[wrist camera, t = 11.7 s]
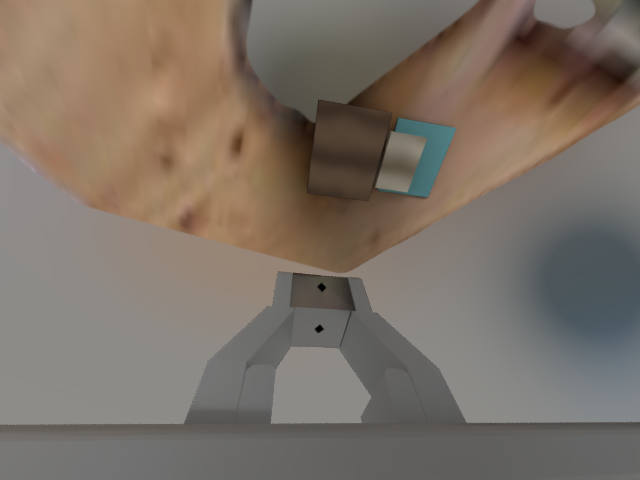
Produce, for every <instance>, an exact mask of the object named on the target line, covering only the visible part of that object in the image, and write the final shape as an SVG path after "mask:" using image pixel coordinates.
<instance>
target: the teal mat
mask: <svg viewBox="0 0 640 480" xmlns="http://www.w3.org/2000/svg"><path fill="white" fill-rule="evenodd" d="M455 130H456V128H453V127H447V126H441V125H436V124H430V123H424V122H419V121H413V120H407V119H402V118H398V120H397V123H396V127H395V130H394V132H399V133H405V134H410V135H416V136H421V137H425V138H427V141H426V143H425V146H424V149H423V151H422V154H421V157H420V160H419V162H418V165H417V168H416V170H415V173H414V176H413V179H412V181H411V184H410V187H409V189H408V192H401V191H394V190H387V189H380V188H378V189H377V190H378V191H384V192H392V193H399V194H407V195H415V196H422V197H428V196H429V193H430V191H431V188H432V186H433V184H434V181H435V179H436V176H437V174H438V171H439V169H440V167H441V164H442V162H443V159H444V157H445V154H446V152H447V150H448V147H449V145H450V142H451V140H452V137H453V135H454V133H455Z"/></svg>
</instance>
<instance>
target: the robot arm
mask: <svg viewBox="0 0 640 480" xmlns="http://www.w3.org/2000/svg"><path fill="white" fill-rule="evenodd" d="M290 346H294V347H295V346H297V347H303V346H304V347H327V348H340V351H341V352H342V354H343V355H344V357H345V358H346V360H347V361H348V363H349V364H350V366H351V367H352V369H353V370H354V372H355V373H356V375H357V376H358V378H359V379H360V381H361V382H362V383H363V385H364V387H365V388H366V389H367V391H368V392H369V394H370V395H371V399H370V401H369V403H368V404H367V406H366V408H365V410H364V412H363V414H362V416H361V421H362V423H324V424H323V423H316V424H315V423H312V424H309V423H306V424H305V423H302V424H271V414H272V404H273V393H274V383H275V372H276V368H277V367H278V365H279V364H280V362H281V361H282V359H283V358H284V356H285V355H286V353H287V352H288V350H289V349H290ZM0 480H640V422H591V423H590V422H580V423H579V422H577V423H575V422H574V423H466V421H465V419H464V417H463V415H462V413H461V411H460V409H459V407H458V405H457V403H456V401H455V399H454V397H453V395H452V393H451V391H450V389H449V387H448V386H447V383H446V381H445V379H444V377H443V375H442V373H441V372H440V370H439V368H437V366H436V365H434V364H433V363H432V362H431V361H430V360H429V359H428V358H427V357H426V356H424V355H423V354H422V353H421V352H420V351H419V350H418V349H417V348H416V347H414V346H413V345H412V344H411V343H410V342H409V341H408V340H406V338H404V337H403V336H402V335H401V334H400V333H399V332H398V331H396V330H395V329H394V328H393V327H392V326H391V325H390V324H389V323H388V322H387V321H386V320H384V319H383V318H382V317H381V316H380V315H379V314H378V313H373V312H372V309H371V306H370V303H369V300H368V297H367V294H366V291H365V288H364V285H363V282H362V280H361V279H360V278H351V277H333V276H320V275H310V274H301V273H293V274H292V273H290V272H278V274H277V279H276V285H275V291H274V298H273V305H272V306H267V307H266V308H265V309H264V310H263V311H262V312H261V313H259V314H258V315H257V316H256V317H255V318H254V319H253V320H252V321H251V322H250V323H249V324H248V325H247V326H245V327H244V328H243V329H242V330H241V331H240V332H239V333H238V334H237V335H236V336H235V337H233V339H231V340H230V341H229V342H228V343H227V344H226V345H225V346H224V347H223V348H222V349H220V350H219V351H218V352H217V353H216V354H215V355H214V356H213V357H212V358H211V359H210V360H209V361H208V362H207V365H206V367H205V370H204V372H203V375H202V378H201V380H200V383H199V386H198V388H197V391H196V393H195V396H194V399H193V401H192V404H191V407H190V409H189V412H188V414H187V417H186V420H185V422H184V424H79V425H78V424H73V425H72V424H71V425H70V424H69V425H67V424H64V425H0Z"/></svg>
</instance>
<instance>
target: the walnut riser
mask: <svg viewBox="0 0 640 480" xmlns="http://www.w3.org/2000/svg"><path fill="white" fill-rule="evenodd" d="M391 116H392V113H391V112H385V111H380V110H374V109H369V108H363V107H357V106H352V105H346V104H340V103H335V102H329V101H323V100H318V107H317V115H316V123H315V131H314V139H313V147H312V155H311V163H310V171H309V179H308V186H307V194H315V195H323V196H331V197H339V198H347V199H355V200H363V201H368V200H369V197H370V193H371V189H372V186H373V182H374V178H375V175H376V171H377V167H378V164H379V160H380V156H381V153H382V149H383V145H384V142H385V138H386V134H387V131H388V127H389V124H390V120H391Z"/></svg>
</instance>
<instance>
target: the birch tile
mask: <svg viewBox="0 0 640 480" xmlns="http://www.w3.org/2000/svg"><path fill="white" fill-rule="evenodd" d="M426 141H427V138H425V137H421V136H416V135H410V134H405V133H399V132H394V131H387V134H386V138H385V142H384V145H383V149H382V153H381V156H380V160H379V164H378V167H377V171H376V175H375V178H374V182H373V186H374V187H375V188H380V189H387V190H394V191H401V192H408V189H409V187H410V184H411V181H412V179H413V176H414V173H415V170H416V168H417V165H418V162H419V160H420V157H421V154H422V151H423V149H424V146H425V143H426Z"/></svg>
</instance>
